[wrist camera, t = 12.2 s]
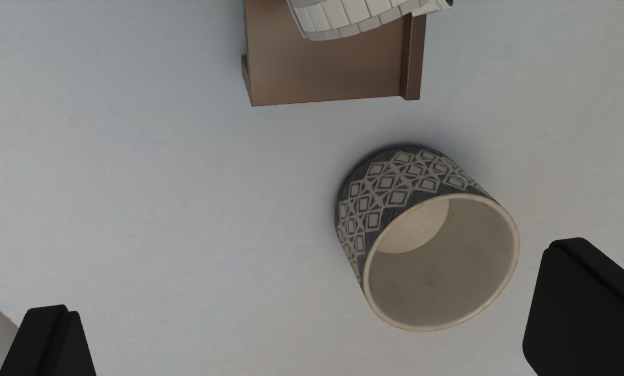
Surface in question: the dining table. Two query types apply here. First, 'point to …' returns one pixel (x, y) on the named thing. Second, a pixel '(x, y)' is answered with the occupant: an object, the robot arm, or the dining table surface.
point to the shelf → (328, 59)
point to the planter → (424, 239)
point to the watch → (354, 15)
